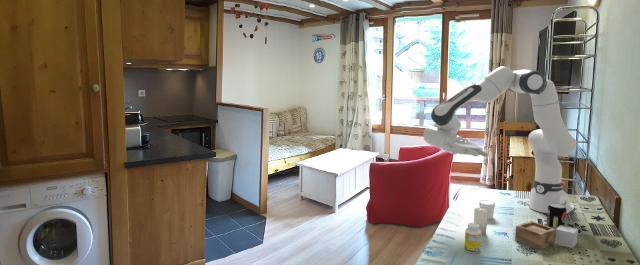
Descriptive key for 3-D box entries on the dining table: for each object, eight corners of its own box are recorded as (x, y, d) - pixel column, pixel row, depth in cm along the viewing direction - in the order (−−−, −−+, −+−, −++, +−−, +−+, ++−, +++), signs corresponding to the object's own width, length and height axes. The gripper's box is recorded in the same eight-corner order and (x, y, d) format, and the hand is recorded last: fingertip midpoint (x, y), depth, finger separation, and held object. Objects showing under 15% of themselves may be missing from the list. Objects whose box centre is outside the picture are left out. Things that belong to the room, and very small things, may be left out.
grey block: (559, 239, 156) (560, 225, 155) (576, 243, 152) (578, 229, 151) (554, 243, 151) (556, 229, 151) (572, 248, 147) (574, 233, 146)
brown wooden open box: (530, 234, 160) (531, 220, 159) (554, 243, 151) (556, 229, 150) (515, 240, 155) (516, 225, 154) (539, 249, 146) (541, 234, 145)
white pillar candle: (478, 229, 166) (479, 207, 164) (488, 233, 161) (490, 210, 160) (470, 232, 163) (471, 209, 162) (480, 236, 159) (482, 212, 157)
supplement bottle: (467, 246, 149) (468, 221, 148) (482, 250, 145) (483, 224, 144) (462, 251, 145) (463, 225, 143) (477, 255, 141) (478, 228, 140)
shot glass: (495, 219, 177) (496, 205, 176) (480, 218, 178) (480, 204, 177) (492, 214, 184) (493, 200, 183) (477, 213, 185) (477, 199, 184)
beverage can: (558, 237, 157) (560, 208, 156) (542, 231, 163) (544, 204, 162) (567, 234, 160) (570, 206, 159) (552, 228, 166) (554, 201, 165)
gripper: (445, 136, 171) (474, 147, 162) (467, 139, 185) (494, 149, 176) (440, 150, 173) (469, 161, 163) (462, 151, 187) (489, 162, 177)
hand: (482, 155), depth 169 cm, fingers open, 8 cm apart
